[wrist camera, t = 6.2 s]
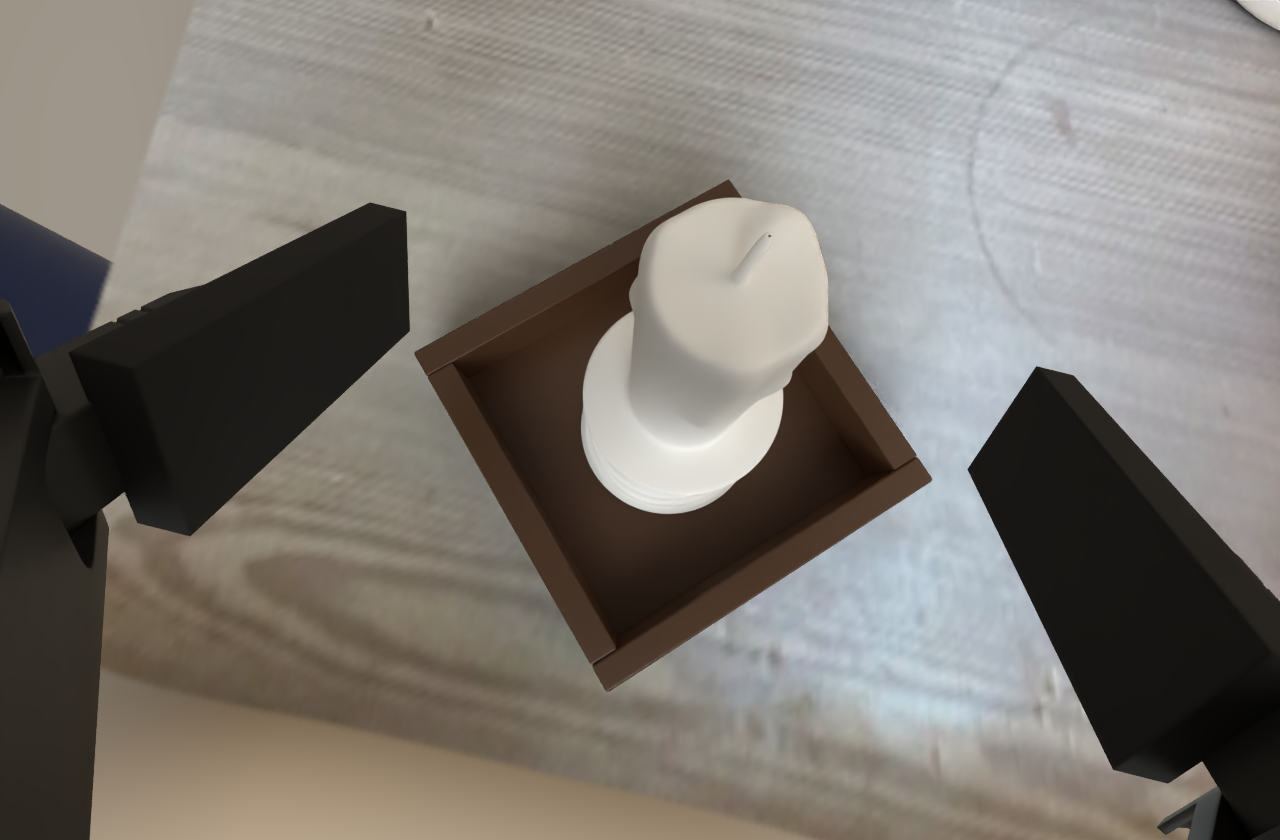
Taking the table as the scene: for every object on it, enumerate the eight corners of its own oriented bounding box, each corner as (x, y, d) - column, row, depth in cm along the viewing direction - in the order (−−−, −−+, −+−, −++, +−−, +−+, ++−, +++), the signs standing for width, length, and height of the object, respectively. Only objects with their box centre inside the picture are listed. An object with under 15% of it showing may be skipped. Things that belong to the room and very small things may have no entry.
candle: (660, 311, 19) (721, -22, 8) (787, 421, 19) (1064, 247, 7) (545, 432, 19) (415, 271, 7) (674, 550, 18) (777, 597, 6)
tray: (439, 374, 19) (412, 352, 17) (716, 219, 21) (729, 178, 18) (608, 670, 18) (606, 694, 15) (894, 486, 19) (934, 480, 17)
